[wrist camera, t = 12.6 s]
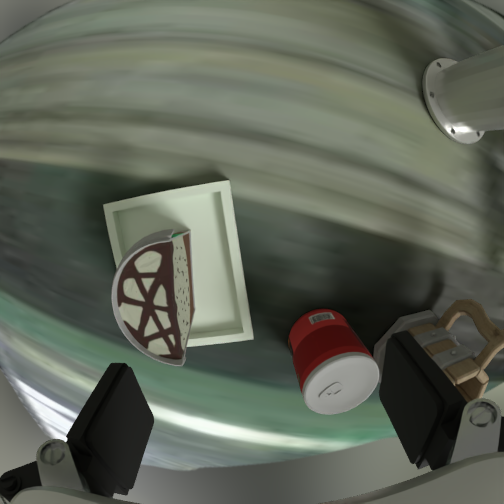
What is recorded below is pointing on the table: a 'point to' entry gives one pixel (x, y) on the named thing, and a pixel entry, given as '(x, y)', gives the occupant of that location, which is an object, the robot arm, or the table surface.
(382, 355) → the tankard
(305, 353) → the canned food
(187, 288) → the food container
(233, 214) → the tray
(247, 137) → the table surface
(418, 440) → the robot arm
